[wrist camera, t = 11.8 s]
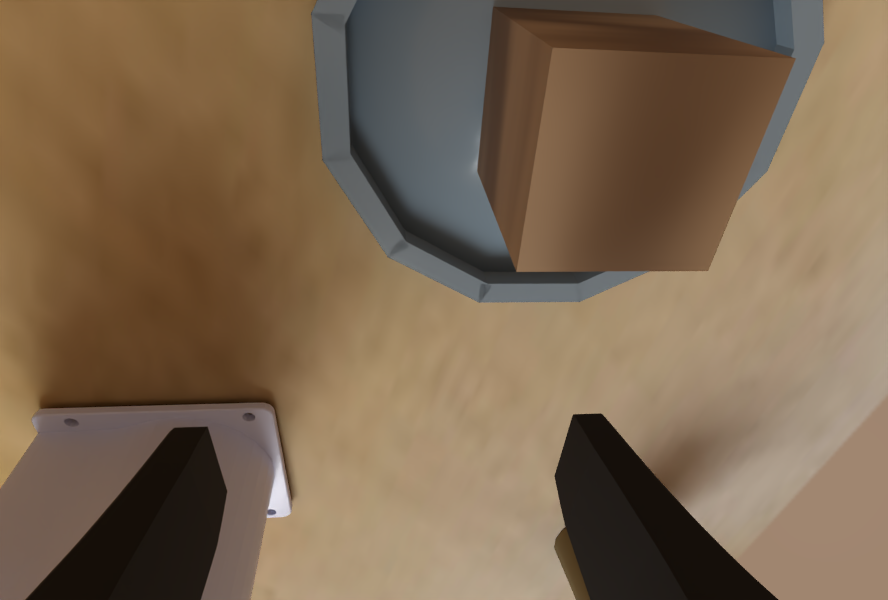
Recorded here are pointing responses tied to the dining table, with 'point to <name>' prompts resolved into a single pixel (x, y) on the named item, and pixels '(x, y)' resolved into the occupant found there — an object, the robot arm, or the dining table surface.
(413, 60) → the plate
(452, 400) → the dining table surface
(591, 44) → the block
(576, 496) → the robot arm
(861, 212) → the dining table surface
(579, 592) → the cork
